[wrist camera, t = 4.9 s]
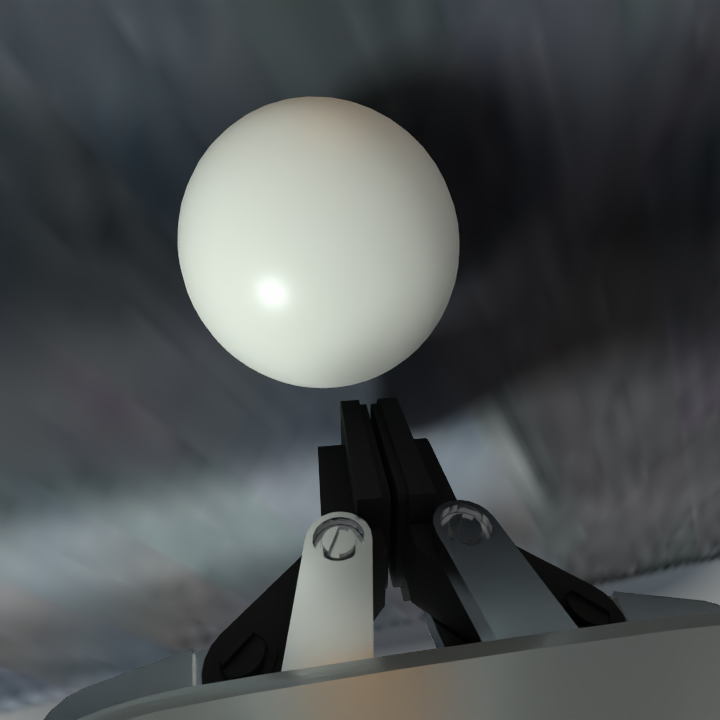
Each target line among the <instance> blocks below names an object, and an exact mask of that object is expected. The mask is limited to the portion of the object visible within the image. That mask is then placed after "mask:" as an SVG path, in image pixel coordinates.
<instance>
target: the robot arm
mask: <svg viewBox="0 0 720 720" xmlns="http://www.w3.org/2000/svg"><path fill="white" fill-rule="evenodd" d="M340 411H341V445H334V446H322V447H318V458H319V480H320V501H321V517H320V518H319V519H317V520H316V521H314V523H313V524H312V525H311V526H310V527H309V529H308V532H307V534H306V537H305V542H304V548H303V554H302V556H301V557H300V558H299V559H298V560H297V561H296V562H295V563H294V564H293V565H292V566H291V567H290V568H289V569H288V570H287V571H286V572H285V573H283V574H282V575H281V576H280V577H279V578H278V579H277V580H276V581H275V582H274V583H273V584H272V585H271V586H270V587H269V588H268V589H267V590H266V591H265V592H264V593H263V594H262V595H261V596H260V597H259V598H258V599H257V600H256V601H255V602H253V603H252V604H251V605H250V606H249V607H248V608H247V609H246V610H245V611H244V612H243V613H242V614H241V615H240V616H239V617H238V618H237V619H236V620H235V621H234V622H233V623H232V624H231V625H230V626H229V627H228V628H227V629H226V630H224V631H223V632H222V633H221V634H220V636H219V637H218V638H217V639H216V640H215V642H214V643H213V644H212V645H211V647H210V648H207V649H204V650H202V651H199V652H196V653H194V651H193V648H191V649H188V650H186V651H183V652H180V653H178V654H175V655H172V656H169V657H167V658H164V659H161V660H159V661H156V662H153V663H150V664H148V665H145V666H142V667H140V668H137V669H134V670H132V671H129V672H126V673H123V674H121V675H118V676H115V677H113V678H110V679H107V680H105V681H102V682H99V683H96V684H94V685H91V686H88V687H86V688H83V689H81V690H79V691H77V692H75V693H74V694H72V695H70V696H68V697H66V698H65V699H64V700H63V701H62V702H60V703H59V704H58V705H57V706H56V707H55V708H53V709H52V710H51V711H50V712H49V713H48V715H47V716H46V717H45V719H44V720H720V605H718V604H715V603H711V602H707V601H700V600H691V599H682V598H672V597H663V596H653V595H644V594H634V593H624V592H615V591H614V592H613V594H612V597H610V596H607V595H606V594H604V592H602V591H600V590H599V589H597V588H596V587H594V586H593V585H591V584H589V583H587V582H585V581H583V580H581V579H579V578H577V577H575V576H573V575H571V574H569V573H567V572H565V571H563V570H561V569H560V568H558V567H556V566H554V565H552V564H550V563H548V562H546V561H544V560H542V559H540V558H538V557H536V556H534V555H532V554H530V553H528V552H526V551H525V550H523V549H521V548H519V547H517V546H516V545H515V544H514V543H513V541H512V540H511V539H510V538H509V536H508V535H507V534H506V532H505V531H504V530H503V528H502V527H501V526H500V524H499V523H498V522H497V520H496V519H495V518H494V517H493V516H492V515H491V514H490V513H489V512H488V511H487V510H486V509H485V508H483V507H481V506H480V505H478V504H475V503H472V502H470V501H464V500H457V499H456V497H455V495H454V493H453V491H452V489H451V487H450V485H449V483H448V480H447V478H446V476H445V474H444V472H443V470H442V468H441V466H440V464H439V462H438V459H437V457H436V455H435V453H434V451H433V449H432V447H431V445H430V443H429V441H428V439H426V438H422V439H413V436H412V434H411V432H410V429H409V427H408V424H407V422H406V420H405V417H404V415H403V413H402V410H401V408H400V405H399V403H398V401H397V399H396V398H382V399H378V400H377V404H371V419H370V417H369V413H368V409H367V406H366V404H363V405H360V403H359V400H352V401H341V402H340ZM388 567H389V572H390V576H391V581H392V585H393V587H394V588H395V587H400V588H401V592H402V596H403V600H404V601H409V600H411V602H412V603H414V604H415V605H416V606H418V607H419V608H421V609H422V610H424V618H425V622H426V625H427V627H428V630H429V632H430V634H431V637H432V639H433V641H434V644H435V646H436V649H431V650H423V651H416V652H409V653H403V654H396V655H389V656H382V657H375V658H373V621H374V620H375V618H376V617H377V616H378V614H379V613H380V611H381V610H382V609H383V607H384V606H385V589H387V586H388Z"/></svg>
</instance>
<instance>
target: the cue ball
mask: <svg viewBox="0 0 720 720" xmlns="http://www.w3.org/2000/svg"><path fill="white" fill-rule="evenodd" d="M178 254H179V261H180V267H181V271H182V275H183V278H184V282H185V286H186V289H187V292H188V294H189V297H190V299H191V302H192V304H193V306H194V308H195V310H196V311H197V313H198V315H199V317H200V318H201V320H202V321H203V323H204V324H205V326H206V327H207V328H208V330H209V331H210V332H211V334H212V335H213V336H214V338H215V339H216V340H217V341H218V342H219V343H220V344H221V345H222V346H223V347H224V348H225V349H226V350H227V351H228V352H229V353H231V354H232V355H233V356H234V357H235V358H237V359H238V360H239V361H241V362H242V363H244V364H245V365H247V366H248V367H250V368H252V369H254V370H255V371H257V372H259V373H261V374H263V375H266V376H268V377H270V378H272V379H275V380H278V381H281V382H284V383H288V384H292V385H297V386H303V387H311V388H331V387H342V386H348V385H354V384H357V383H361V382H364V381H367V380H370V379H372V378H375V377H377V376H380V375H381V374H383V373H385V372H387V371H389V370H391V369H392V368H394V367H395V366H397V365H398V364H400V363H401V362H403V361H404V360H405V359H407V358H408V357H409V356H410V355H411V354H413V353H414V352H415V351H416V350H417V349H418V348H419V347H420V346H421V345H422V344H423V342H424V341H425V340H426V339H427V338H428V336H429V335H430V334H431V333H432V331H433V330H434V328H435V327H436V325H437V324H438V322H439V321H440V319H441V317H442V315H443V313H444V311H445V309H446V307H447V305H448V302H449V299H450V296H451V293H452V291H453V288H454V285H455V281H456V276H457V271H458V264H459V229H458V221H457V217H456V212H455V208H454V204H453V201H452V198H451V196H450V193H449V190H448V188H447V185H446V183H445V180H444V178H443V176H442V175H441V173H440V171H439V169H438V167H437V166H436V164H435V162H434V161H433V160H432V158H431V157H430V156H429V154H428V153H427V152H426V150H425V149H424V148H423V146H422V145H421V144H420V143H419V142H418V141H417V140H416V139H415V138H414V137H413V136H412V135H411V134H410V133H409V132H407V131H406V130H405V129H403V128H402V127H401V126H399V125H398V124H397V123H395V122H394V121H393V120H391V119H390V118H388V117H386V116H384V115H382V114H380V113H379V112H377V111H375V110H373V109H371V108H368V107H366V106H363V105H360V104H357V103H354V102H352V101H347V100H342V99H336V98H331V97H300V98H292V99H285V100H282V101H278V102H275V103H272V104H268V105H265V106H263V107H261V108H259V109H257V110H255V111H253V112H251V113H249V114H247V115H245V116H244V117H243V118H241V119H240V120H238V121H237V122H235V123H234V124H233V125H231V126H230V127H229V128H228V129H226V130H225V131H224V132H223V133H222V134H221V135H220V136H219V137H218V138H217V139H216V140H215V141H214V142H213V143H212V144H211V145H210V147H209V148H208V149H207V151H206V152H205V154H204V155H203V156H202V158H201V159H200V161H199V162H198V164H197V166H196V168H195V170H194V172H193V174H192V176H191V178H190V181H189V183H188V185H187V188H186V191H185V194H184V197H183V200H182V204H181V210H180V216H179V223H178Z"/></svg>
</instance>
